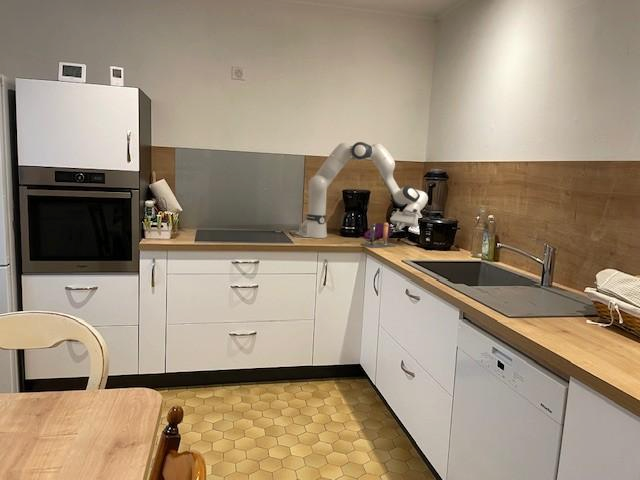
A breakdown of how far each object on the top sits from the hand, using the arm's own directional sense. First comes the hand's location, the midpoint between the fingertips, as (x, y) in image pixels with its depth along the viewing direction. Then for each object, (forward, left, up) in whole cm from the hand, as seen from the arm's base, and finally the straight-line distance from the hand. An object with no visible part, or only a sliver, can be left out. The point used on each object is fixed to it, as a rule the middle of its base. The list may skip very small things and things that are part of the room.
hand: (397, 229), depth 288 cm
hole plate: (-1, -14, -10) cm, 17 cm away
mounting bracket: (-26, +8, -10) cm, 29 cm away
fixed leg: (-1, -21, -8) cm, 22 cm away
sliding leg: (-1, -10, -8) cm, 13 cm away
